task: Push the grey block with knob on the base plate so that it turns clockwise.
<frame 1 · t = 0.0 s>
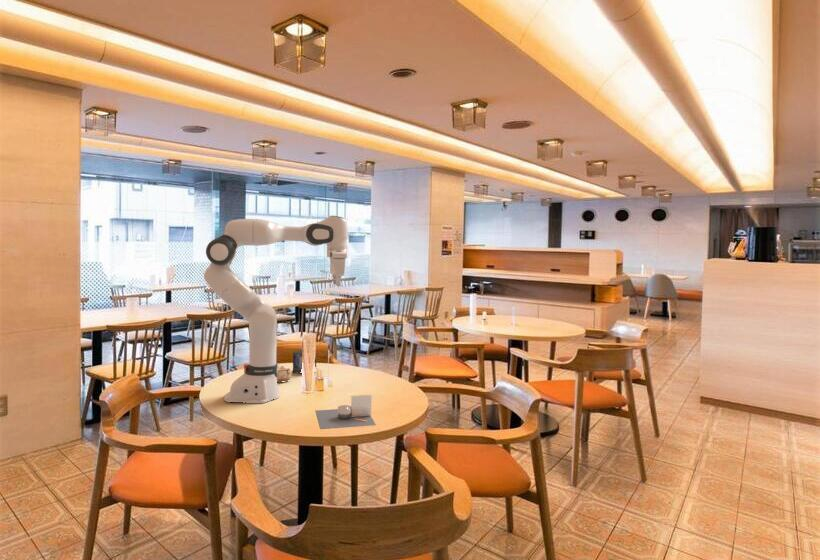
hand: (336, 285, 220), 48 cm above the table, tool pointing down, fingers open, 8 cm apart
trinket box: (274, 381, 240), on the table
grey block with knob: (354, 406, 190), point 5 cm above the table, hinge at 0.0°
small box: (304, 372, 257), on the table
base plate: (344, 420, 189), on the table
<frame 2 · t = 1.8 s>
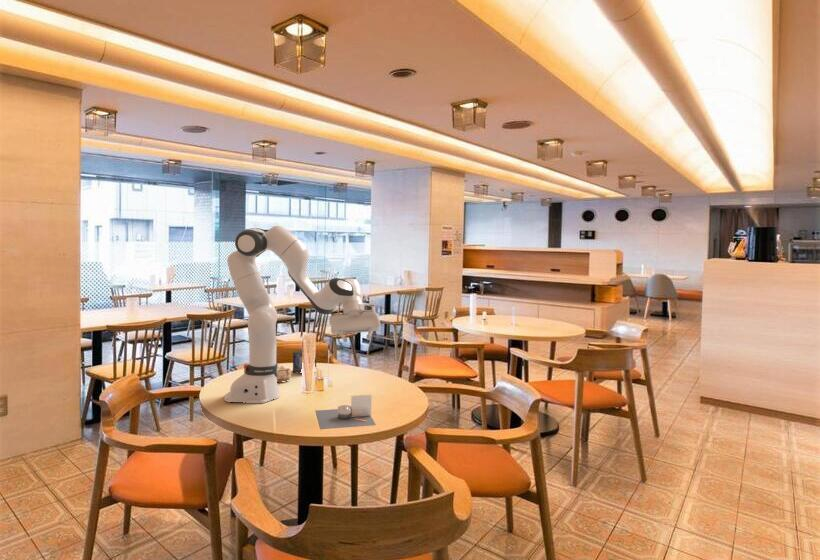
hand: (357, 340, 203), 27 cm above the table, tool tilted 45°, fingers open, 8 cm apart
nothing on the table moved.
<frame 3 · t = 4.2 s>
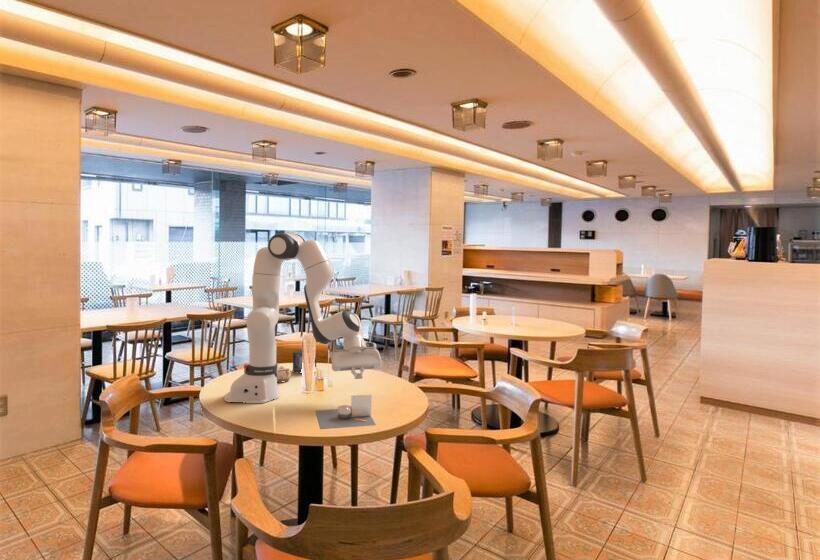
hand: (358, 378, 200), 13 cm above the table, tool tilted 45°, fingers closed
nothing on the table moved.
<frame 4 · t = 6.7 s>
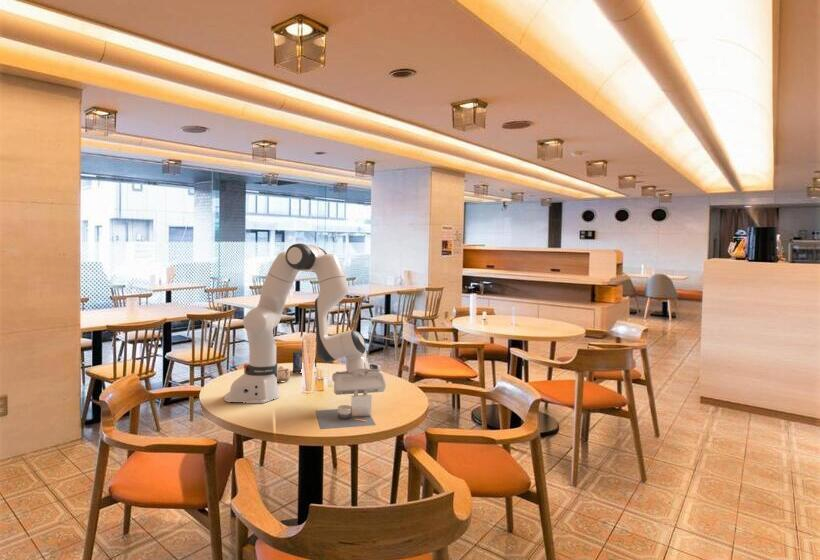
hand: (361, 402, 192), 6 cm above the table, tool tilted 45°, fingers closed, pressing on grey block with knob
grey block with knob: (354, 406, 190), point 5 cm above the table, hinge at -0.4°, touching gripper
everything else where it was.
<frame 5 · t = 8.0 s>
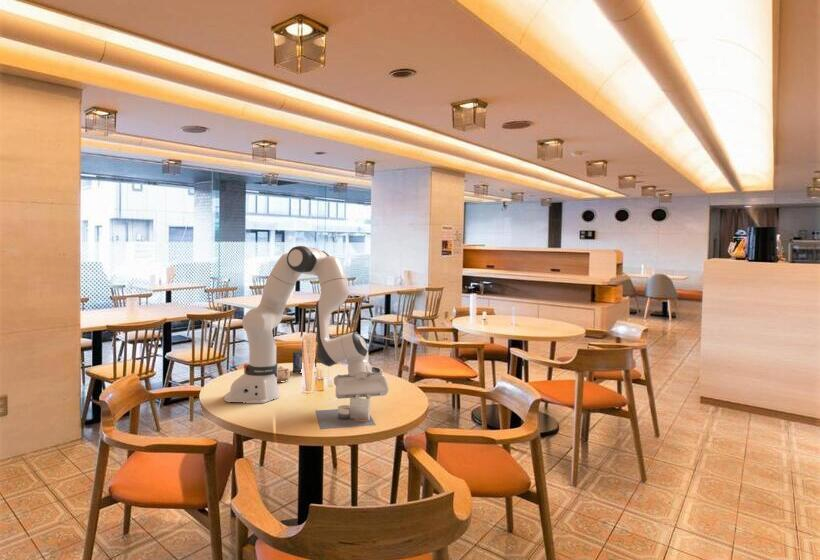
hand: (364, 406, 189), 5 cm above the table, tool tilted 45°, fingers closed
grey block with knob: (353, 408, 188), point 5 cm above the table, hinge at -35.2°, touching gripper
everything else where it was.
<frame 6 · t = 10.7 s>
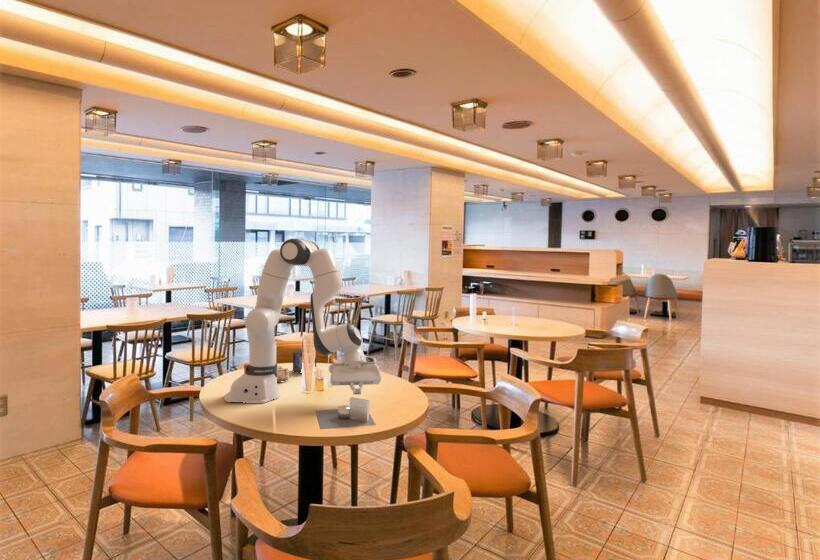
hand: (357, 393, 197), 8 cm above the table, tool tilted 45°, fingers closed
grey block with knob: (353, 408, 187), point 5 cm above the table, hinge at -39.6°
everything else where it was.
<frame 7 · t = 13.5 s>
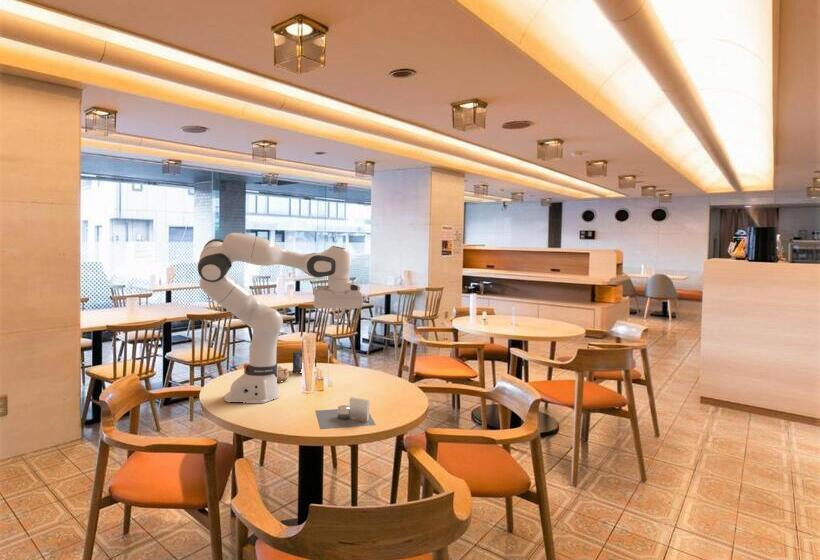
hand: (338, 319, 209), 35 cm above the table, tool pointing down, fingers closed
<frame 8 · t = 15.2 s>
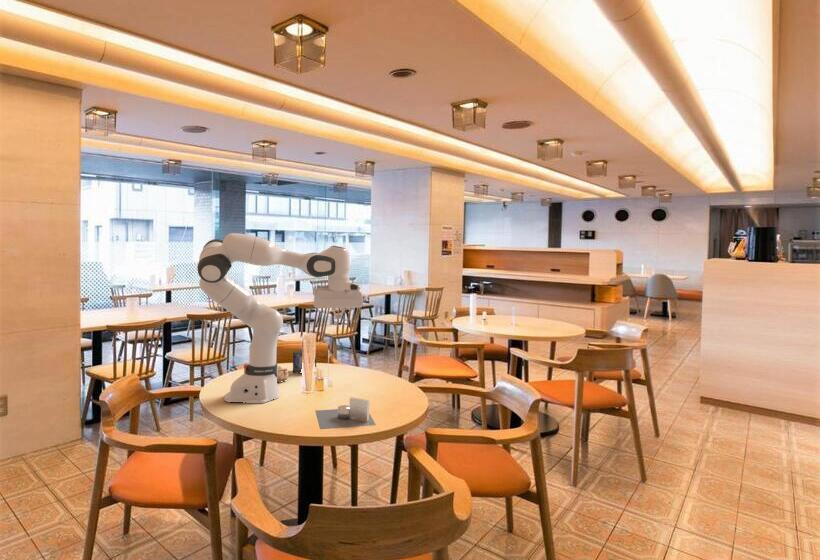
hand: (338, 318, 209), 35 cm above the table, tool pointing down, fingers closed
at the end: grey block with knob at -40° (first picture: +0°); trinket box moved 1.5 cm from its start; small box moved 0.3 cm from its start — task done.
